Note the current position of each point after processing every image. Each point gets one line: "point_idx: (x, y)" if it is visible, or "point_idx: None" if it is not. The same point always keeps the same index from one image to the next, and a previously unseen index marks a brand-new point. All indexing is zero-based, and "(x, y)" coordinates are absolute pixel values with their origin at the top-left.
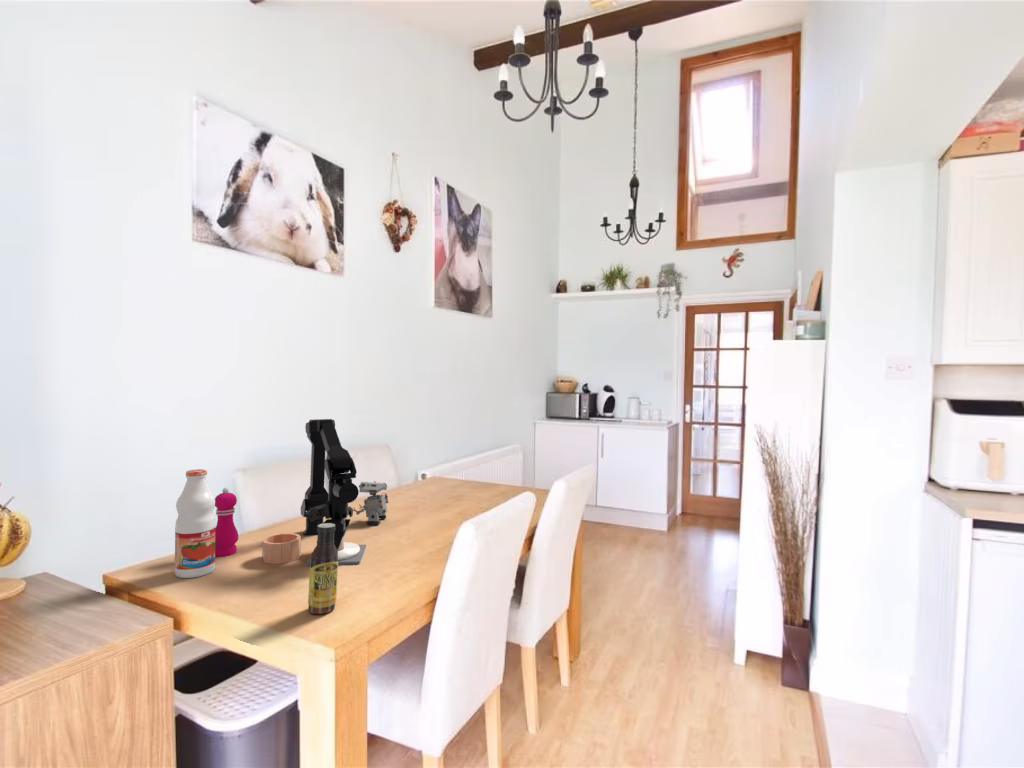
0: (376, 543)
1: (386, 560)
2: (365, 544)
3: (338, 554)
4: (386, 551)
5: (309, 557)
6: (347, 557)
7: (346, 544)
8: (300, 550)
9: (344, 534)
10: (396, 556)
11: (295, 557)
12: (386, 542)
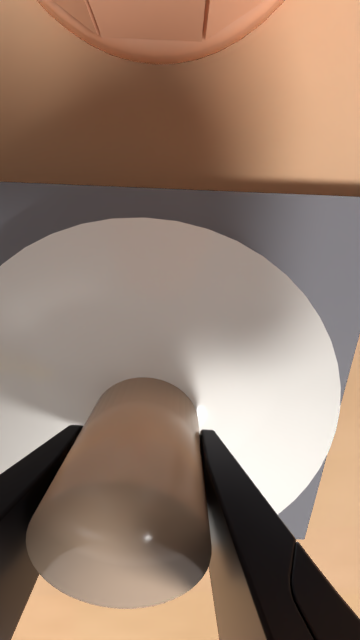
0: (344, 560)
1: (66, 602)
2: (304, 537)
3: (10, 445)
4: (196, 599)
5: (59, 185)
6: None
7: (255, 474)
8: (196, 11)
9: (220, 625)
10: (118, 629)
11: (64, 10)
12: (343, 595)
